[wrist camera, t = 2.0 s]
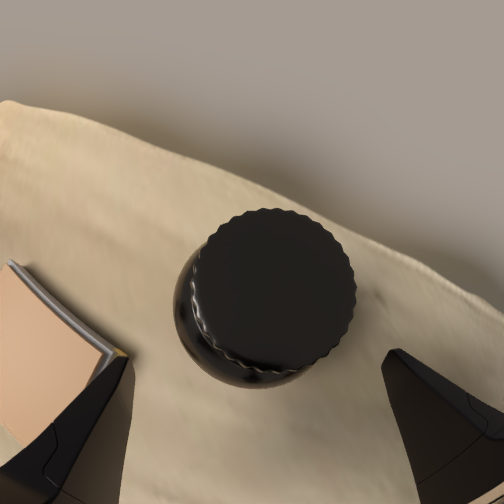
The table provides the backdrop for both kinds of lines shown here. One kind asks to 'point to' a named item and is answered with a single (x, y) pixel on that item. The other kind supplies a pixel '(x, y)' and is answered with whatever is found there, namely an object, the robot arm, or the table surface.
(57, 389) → the note pad
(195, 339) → the supplement bottle
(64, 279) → the table surface
